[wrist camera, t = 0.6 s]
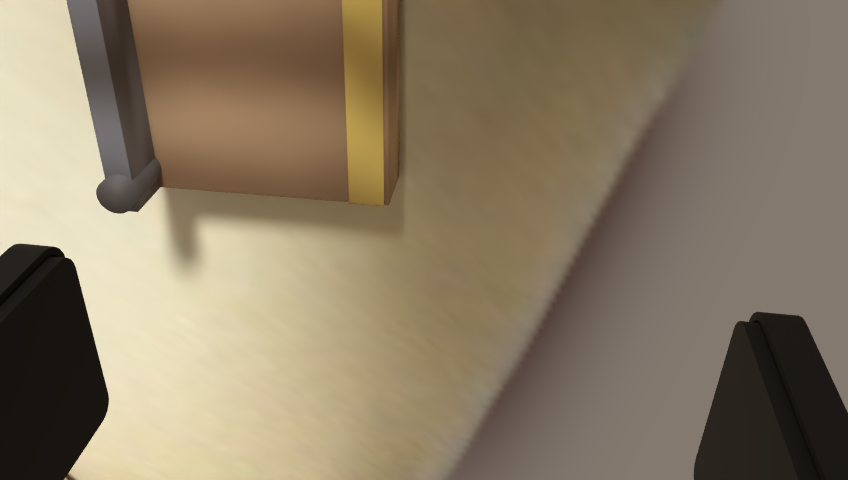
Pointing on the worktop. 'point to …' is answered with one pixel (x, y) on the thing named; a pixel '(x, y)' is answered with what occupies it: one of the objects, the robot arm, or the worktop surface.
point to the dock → (242, 97)
